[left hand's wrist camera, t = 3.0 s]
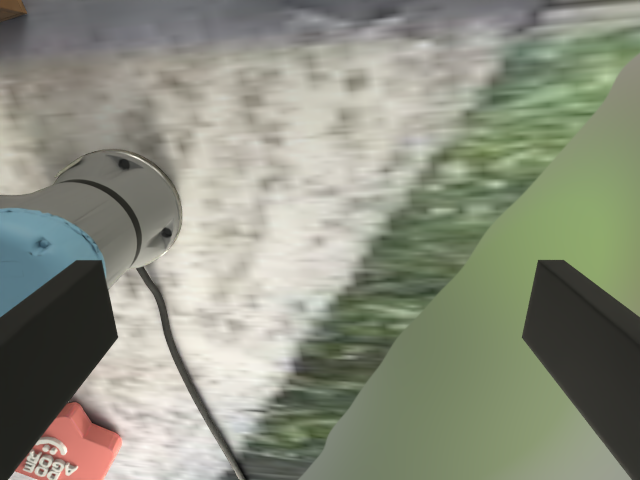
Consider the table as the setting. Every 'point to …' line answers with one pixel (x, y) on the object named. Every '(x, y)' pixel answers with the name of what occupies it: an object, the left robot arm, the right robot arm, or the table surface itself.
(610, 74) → the table surface
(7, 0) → the cabinet
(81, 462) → the plaque
